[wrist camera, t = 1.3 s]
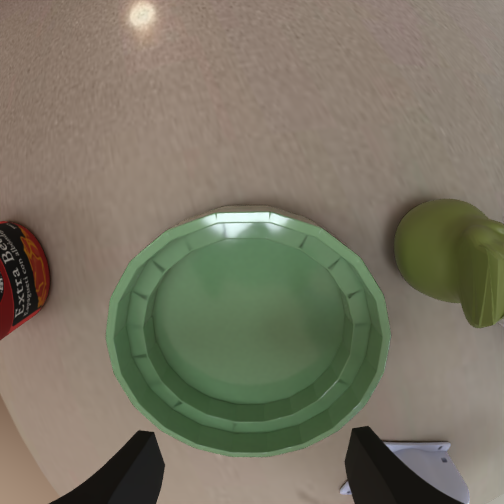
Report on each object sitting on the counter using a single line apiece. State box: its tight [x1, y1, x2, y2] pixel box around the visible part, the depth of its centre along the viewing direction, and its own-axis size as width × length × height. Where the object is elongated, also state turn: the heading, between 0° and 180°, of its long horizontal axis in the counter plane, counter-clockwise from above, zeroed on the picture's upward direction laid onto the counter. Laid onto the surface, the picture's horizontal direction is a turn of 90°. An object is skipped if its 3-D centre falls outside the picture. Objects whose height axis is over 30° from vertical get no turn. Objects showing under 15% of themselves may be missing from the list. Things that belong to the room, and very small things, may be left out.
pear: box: [394, 199, 504, 328], centre depth 13 cm, size 6×5×10 cm
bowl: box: [106, 205, 391, 457], centre depth 17 cm, size 15×15×4 cm
